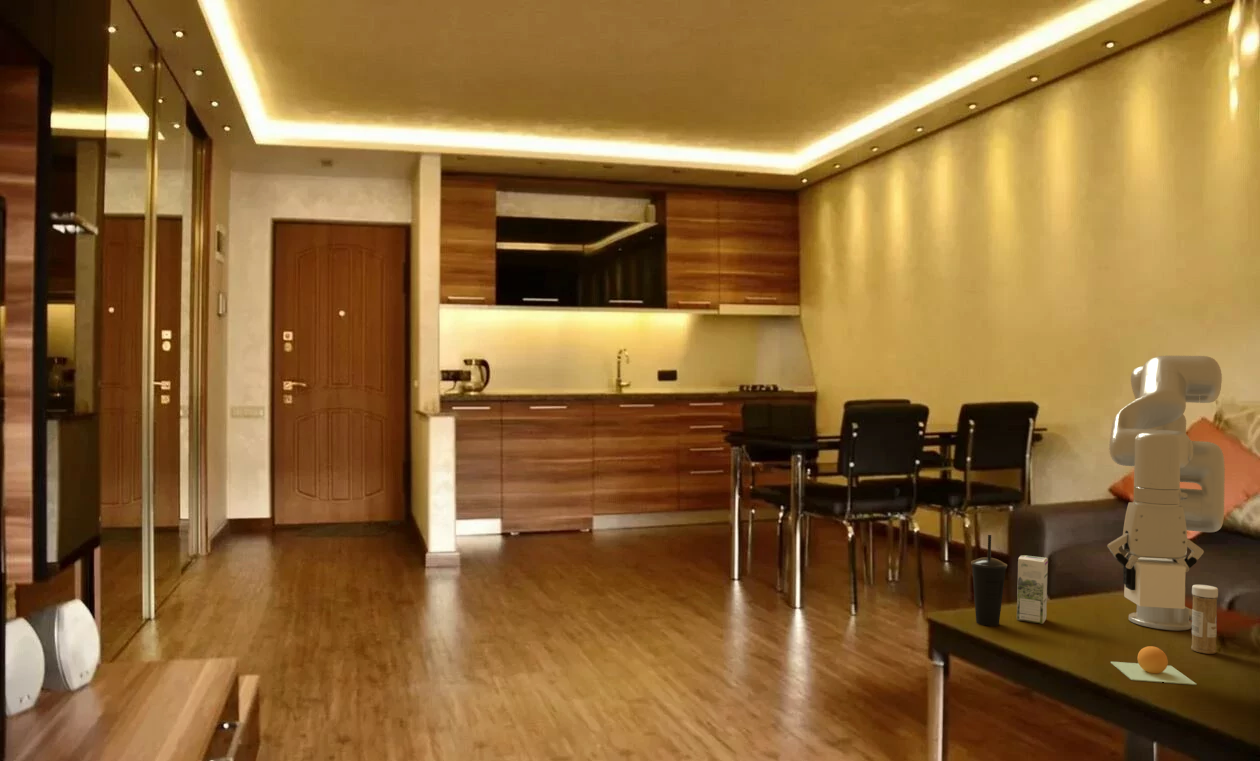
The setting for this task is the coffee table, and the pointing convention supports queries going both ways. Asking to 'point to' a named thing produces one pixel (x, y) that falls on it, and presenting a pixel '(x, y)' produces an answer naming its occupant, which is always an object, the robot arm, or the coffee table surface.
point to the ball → (1152, 660)
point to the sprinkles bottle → (1204, 619)
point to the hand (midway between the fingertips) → (1153, 589)
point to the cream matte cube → (1158, 584)
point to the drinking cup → (988, 588)
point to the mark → (1139, 674)
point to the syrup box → (1032, 589)
